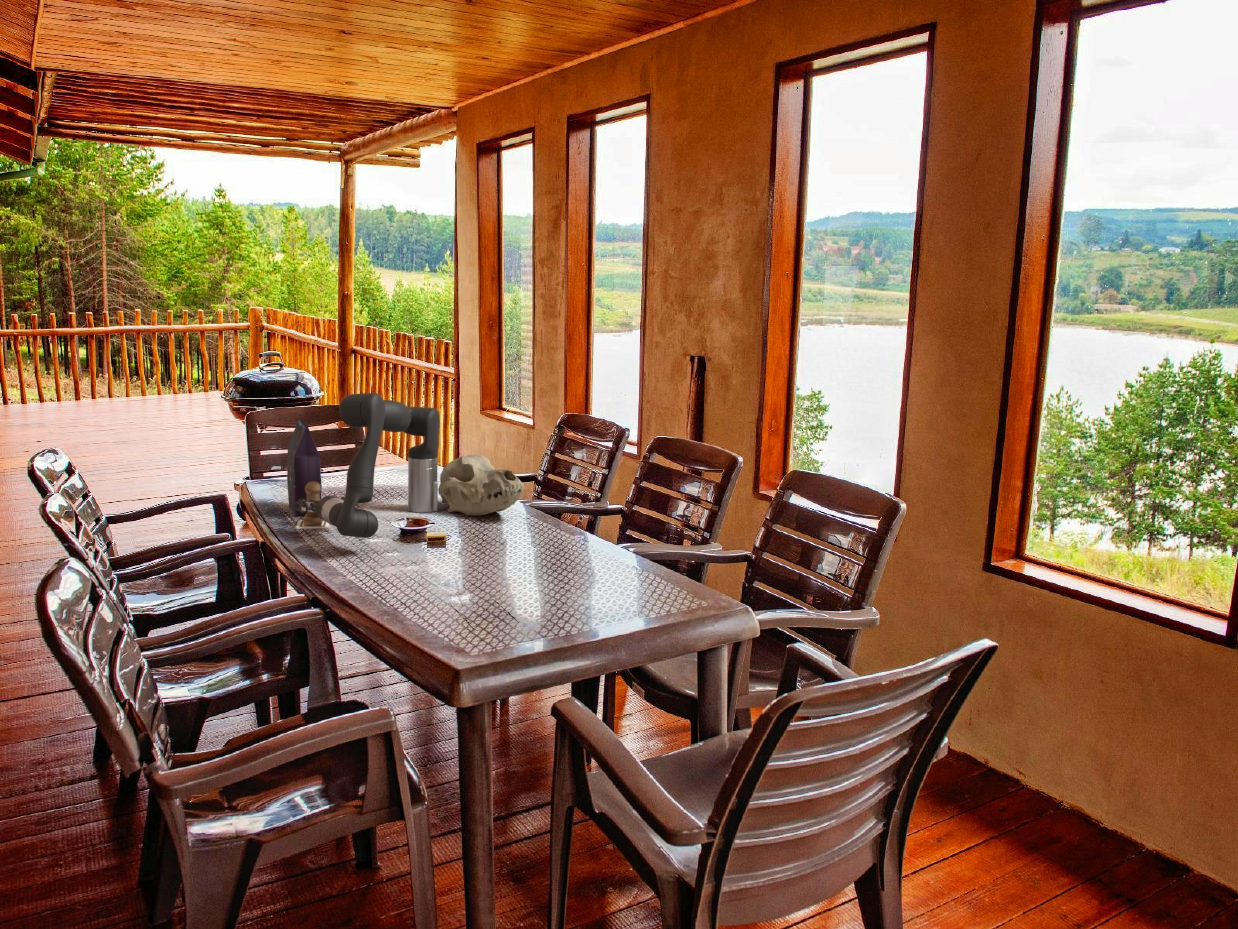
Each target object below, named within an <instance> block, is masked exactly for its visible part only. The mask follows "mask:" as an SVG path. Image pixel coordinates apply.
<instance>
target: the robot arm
mask: <svg viewBox="0 0 1238 929" xmlns="http://www.w3.org/2000/svg"><path fill="white" fill-rule="evenodd" d="M338 413H339V417H340V419H341V421H342V422H343V424H345V425H346V426H348V427H350V428H366V429H367V430H366V433H365V437H364V440H363V441H362V444H361V446H360V447H359V449H358V451H357V452H356V454H355V455H354V457H353V458H352V460H351V462H350V464H349V466H348V469H347V474H346V484H345V487H346V488H345V494H344V495H345V496H341V497H338V496H336V495H333V494H329V495H326V496H323V497H321V499H319V500H315V499H311V500H305V499H303V498H299V500H298V501H296V510H298V511H300V512H302V513H304V514H306V513H307V511H309V512H316V513H317V514H318V516H319V517H320V518H321V519H322V520H324V521H325V522H327V523H329V525H331V526H333V527H336V529H337V532H338V533H339V534H340V535H341V536H343V537H350V538H351V537H352V538H361V539H369V538H371V537H373V536H374V535H375V534H376V533H377V531H378V528H379V521H378V517H377V516H376V515H375V514H374V513H373V512H372V511H369V510H366V509H362V508H357V507H356V506H357V504H366V503H370V502H371V501H372V500H373V497H374V482H375V467H376V462H377V457H378V451H379V447H380V444H381V438H382V434H383V431H384V432H389V433H401V432H402V433H404V434H405V435H406V434H407V435H409V436H414V437H424V440H423V442H422V443H420V444H418V445H414V446H411V447H410V448H408V454H407V463H408V464H407V510H408V511H410V512H412V513H413V512H414V513H431V512H438V502H439V500H438V495H439V492H438V489H439V486H438V457H439V456H438V455H439V454H438V453H439V447H440V446H439V443H440V442H439V441H440V440H439V439H440V427H441V425H440V424H441V422H440V421H441V420H440V419H441V418H440V413H439V410H438V409H437V408H435V407H426V406H425V407H424V406H407V405H406V404H404V403H402V402H401V401H396V400H393V399H392V400H389V399H383V396H382V395H381V394H379V393H377V392H364V393H352V394H348V395H346V396H345V397H343V398H342V399H341V401H340V403H339V407H338ZM313 502H315V503H314V504H313ZM306 503H308V506H307V504H306Z"/></svg>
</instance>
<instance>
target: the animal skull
mask: <svg viewBox="0 0 1238 929" xmlns="http://www.w3.org/2000/svg"><path fill="white" fill-rule="evenodd" d="M439 482H440V483H439V486H438V495H439V496H440V498H441V504H445V503H446V504H448V506H449V508H447V509H446V511H447V512H448V513H451V512H460V513H462V514H464V515H466V516H472V517H473V516H474V517H475V516H482V515H487V514H491V513H494V512H503V511H505V510H507V509H508V508H510V507H511V506H515V503H517V501H518V500H519V499H520V497H521V495H524V490H525V484H524V482H522V481H521V480H520V479H519V477H517V476H516V474H514V472H513V471H512V470H508V469H504V468H501V469H496V468H495V467H494V466H493V465H492V464H491V462H490V459H488V458H487V457H486V456H484V455H482V454H477V453H475V454H469V455H461V456H460V457H457V458H456V459H453V460H451V461H450V462H448V463H447V464H446V465H445V466H443V468H442V471H441V473H440V476H439Z"/></svg>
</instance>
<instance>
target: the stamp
mask: <svg viewBox="0 0 1238 929" xmlns="http://www.w3.org/2000/svg"><path fill="white" fill-rule="evenodd" d="M305 491H306V493H307V500H311V499H315V500H319V499H320V491H321V492H322V490H321V487H320V485H319V483H317V482H314V481H312V482H309V483H308V484H307V485H306V487H305ZM314 503H315V502H313V504H314ZM307 506H308V503H307ZM303 521H304V526H321V525H322V522H323V520H322V519H321V518H320V517H319V516H318V514H317V513H316V512H309V511H307V514H305V516H303Z"/></svg>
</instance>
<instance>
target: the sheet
mask: <svg viewBox="0 0 1238 929" xmlns="http://www.w3.org/2000/svg"><path fill="white" fill-rule="evenodd" d="M329 527H330V524H329V523H327V522H325V521H324V520H323V522H322V525H321V526H304V520H298V522H297V524H296V526H295V529H297V530H298V529H303V530H304V529H329Z"/></svg>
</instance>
